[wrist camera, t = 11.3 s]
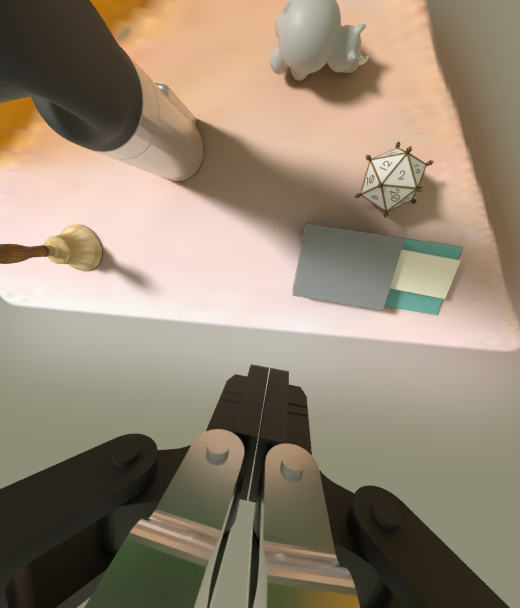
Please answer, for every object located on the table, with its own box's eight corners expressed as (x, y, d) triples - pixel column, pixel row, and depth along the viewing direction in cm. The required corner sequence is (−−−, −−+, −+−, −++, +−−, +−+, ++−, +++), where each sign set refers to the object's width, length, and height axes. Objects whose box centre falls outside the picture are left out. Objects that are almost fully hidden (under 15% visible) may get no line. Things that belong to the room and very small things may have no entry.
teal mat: (397, 237, 40) (398, 237, 40) (460, 247, 40) (462, 247, 39) (377, 304, 44) (378, 304, 43) (435, 314, 43) (437, 314, 43)
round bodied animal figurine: (337, 107, 39) (373, 85, 31) (262, 74, 35) (283, 41, 27) (353, 47, 36) (397, 8, 29) (275, 6, 33) (302, -52, 25)
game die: (386, 191, 42) (441, 211, 35) (342, 211, 41) (389, 236, 34) (393, 127, 36) (462, 136, 29) (341, 148, 35) (399, 163, 28)
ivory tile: (394, 247, 40) (399, 249, 39) (452, 259, 40) (460, 260, 38) (381, 284, 42) (386, 287, 40) (438, 295, 42) (444, 299, 40)
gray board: (305, 223, 41) (306, 223, 38) (394, 237, 40) (405, 238, 37) (292, 289, 45) (292, 295, 41) (374, 303, 44) (382, 311, 40)
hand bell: (53, 229, 47) (-62, 230, 32) (92, 219, 45) (-8, 216, 30) (70, 274, 49) (-29, 295, 34) (109, 266, 47) (23, 284, 32)
